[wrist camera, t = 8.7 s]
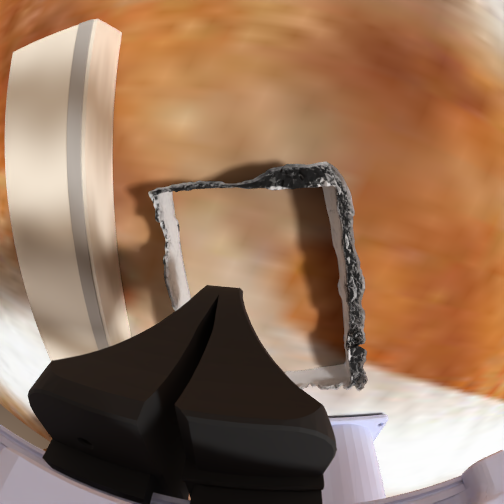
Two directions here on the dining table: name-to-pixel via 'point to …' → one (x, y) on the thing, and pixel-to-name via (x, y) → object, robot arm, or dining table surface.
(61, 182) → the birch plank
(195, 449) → the robot arm
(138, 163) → the dining table surface
